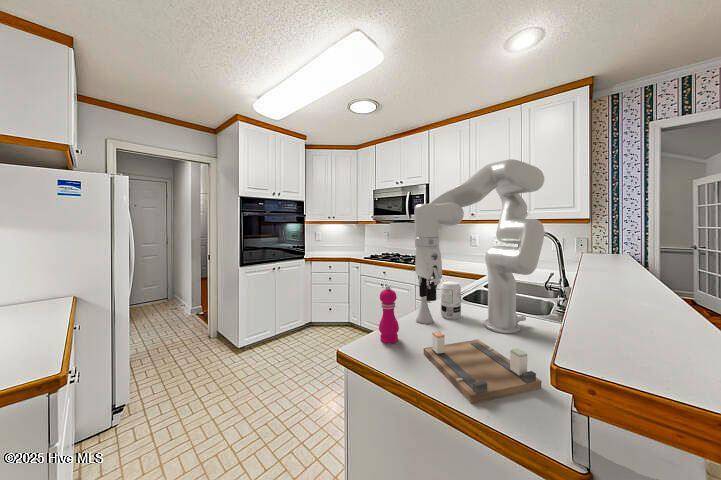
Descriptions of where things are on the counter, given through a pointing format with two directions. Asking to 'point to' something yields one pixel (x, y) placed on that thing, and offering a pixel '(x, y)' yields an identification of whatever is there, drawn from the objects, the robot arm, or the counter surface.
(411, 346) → the counter surface
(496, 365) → the wooden board
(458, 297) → the supplement can
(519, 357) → the sage-capped tab
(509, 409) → the counter surface
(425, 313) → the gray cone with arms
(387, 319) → the pepper mill
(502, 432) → the counter surface
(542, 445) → the counter surface
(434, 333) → the terracotta-capped tab
